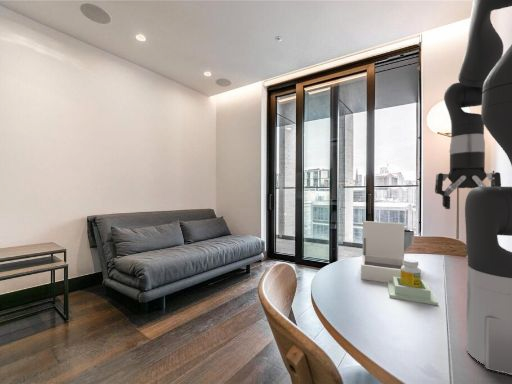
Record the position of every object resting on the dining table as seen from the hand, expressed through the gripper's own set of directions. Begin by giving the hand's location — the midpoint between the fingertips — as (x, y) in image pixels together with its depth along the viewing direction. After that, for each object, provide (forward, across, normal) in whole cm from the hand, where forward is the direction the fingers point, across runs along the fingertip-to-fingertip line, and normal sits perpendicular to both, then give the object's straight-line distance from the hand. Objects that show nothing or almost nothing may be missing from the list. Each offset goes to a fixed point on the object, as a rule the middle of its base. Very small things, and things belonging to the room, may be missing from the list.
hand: (466, 209), depth 70 cm
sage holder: (+27, -13, +2) cm, 30 cm away
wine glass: (+27, -11, +34) cm, 45 cm away
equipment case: (+27, -20, +17) cm, 37 cm away
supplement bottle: (+26, -13, +2) cm, 29 cm away
